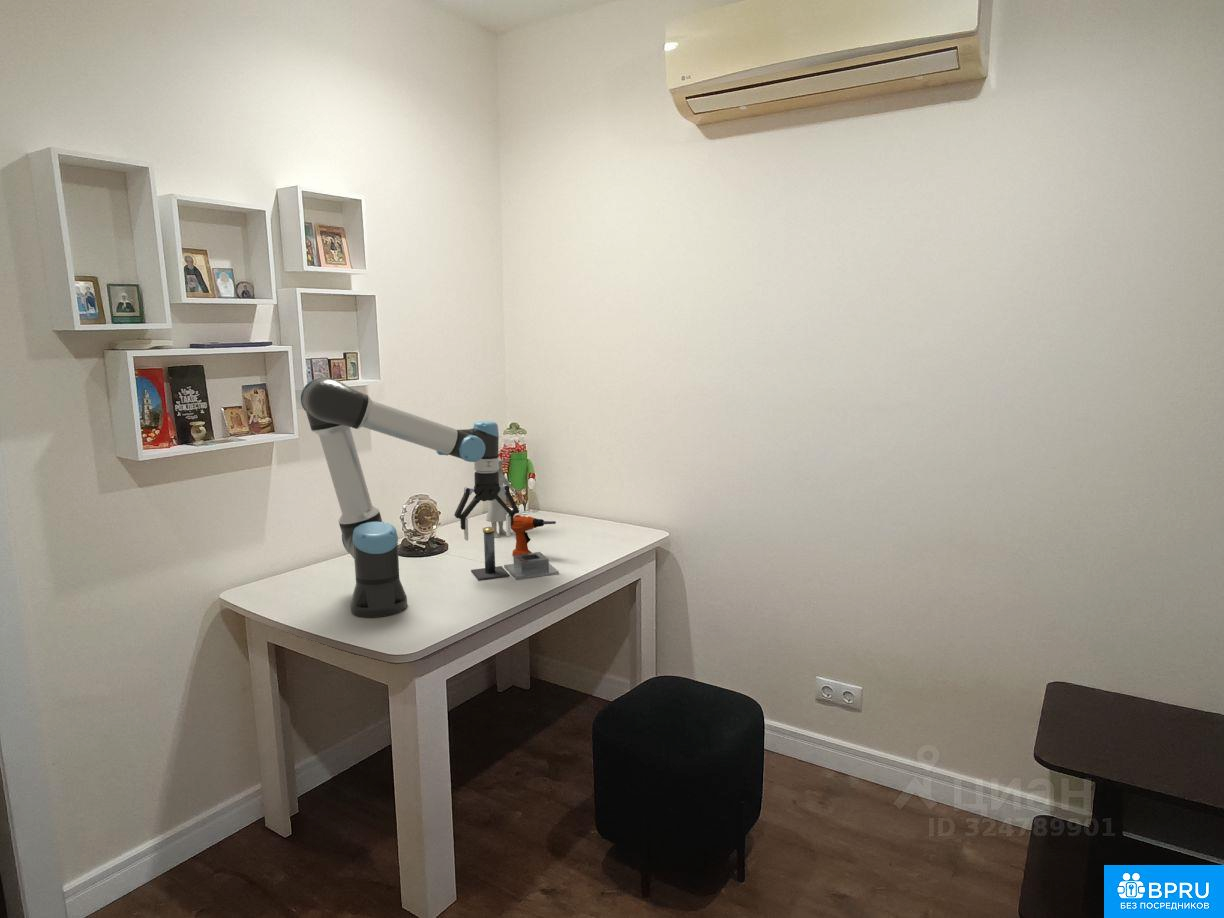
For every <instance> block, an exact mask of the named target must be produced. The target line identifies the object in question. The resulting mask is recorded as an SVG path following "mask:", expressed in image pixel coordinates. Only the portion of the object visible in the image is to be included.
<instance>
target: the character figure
mask: <svg viewBox="0 0 1224 918" xmlns="http://www.w3.org/2000/svg"><path fill="white" fill-rule="evenodd" d="M498 458H499V469H498V470H497V471H498V472H499V486H504V485H505V484H506V485H507V486H509V490H511V492H513V493H514V494H515V493H516V491H515V489H514V488H513V486H512V485H511V483H510V480H509V479H508V478H507V477H506V476H505V475H504V473H503V467H502V466H503V464H504V463H506V462H508V461H509V459H508V458H507V459H502V458H501V457H498ZM498 496H499V497H500V498H501V500H502V501H503V502H504V503H505V504H506V505H507V506H508V504H507V499H506V498H507V497H506V495H505V493H504V492H502V490H500V492H499V493H498ZM506 515H509V514H508V512H507V511H506V510H505V509H504V508H503V507H502V506H501V505H500V504H499V503H498V502H497V500H496V499H494V500H493V501H489V503H488V507H487V514H486V522H489V523H491V527H494V528H495V532H494V538H500V535H503V536H507V535H506V530H505V529H504V522H506ZM497 523H498V525H497ZM497 526H498V531H497Z"/></svg>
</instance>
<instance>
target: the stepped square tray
mask: <svg viewBox="0 0 1224 918" xmlns="http://www.w3.org/2000/svg"><path fill="white" fill-rule="evenodd" d="M512 557H513V563H510V564H504V567H503V568H504V569H505V570H506V571H507V572H508V573H509V574H510V575H511V577H513V578H514V579H515V580H523V579H534V578H537V577H538V578H539V577H546V576H553V575H559V574H560V572H559V570H558V569H557V568H555V567H554V566H553V565H552V564H550V562H549V561H550V559H549V558H548V557H546V555H544V553H542V552H541V551H535V552H532V553H527V554H519V555H513V556H512Z"/></svg>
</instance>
